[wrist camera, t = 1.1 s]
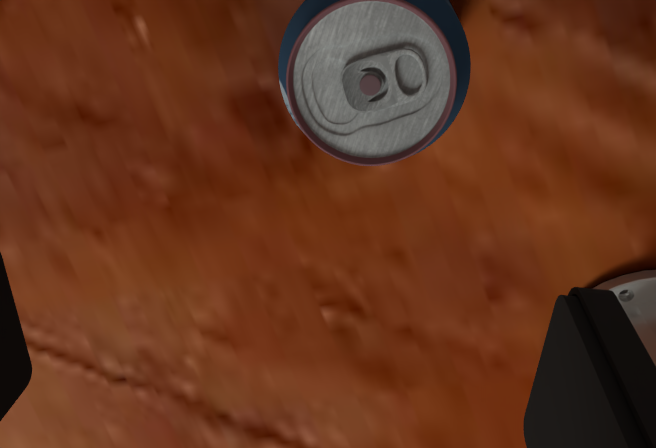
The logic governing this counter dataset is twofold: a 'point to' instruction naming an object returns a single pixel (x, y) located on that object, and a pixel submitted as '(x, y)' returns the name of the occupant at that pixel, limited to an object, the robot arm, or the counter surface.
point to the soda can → (374, 75)
